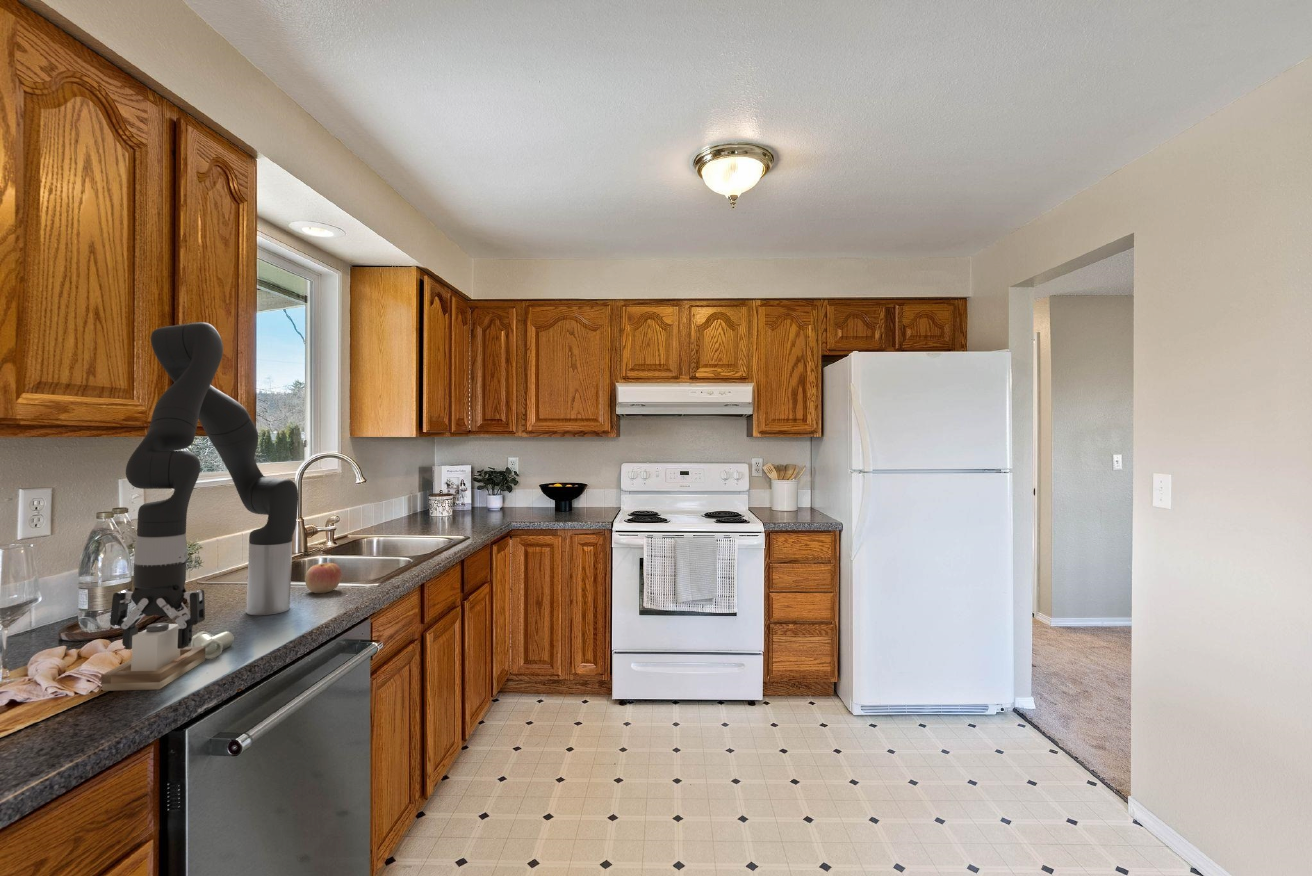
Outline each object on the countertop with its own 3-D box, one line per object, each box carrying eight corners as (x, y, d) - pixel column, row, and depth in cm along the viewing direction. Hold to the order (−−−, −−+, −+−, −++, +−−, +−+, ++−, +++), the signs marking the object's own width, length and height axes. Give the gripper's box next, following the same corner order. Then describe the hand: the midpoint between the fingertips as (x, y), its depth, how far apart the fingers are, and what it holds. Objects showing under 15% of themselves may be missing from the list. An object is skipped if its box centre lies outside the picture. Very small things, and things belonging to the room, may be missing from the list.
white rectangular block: (130, 675, 109) (132, 631, 109) (156, 661, 116) (157, 619, 116) (155, 674, 110) (157, 631, 110) (179, 660, 116) (181, 619, 116)
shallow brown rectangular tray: (153, 661, 119) (154, 646, 119) (205, 660, 120) (205, 645, 120) (100, 690, 105) (101, 673, 105) (159, 689, 106) (160, 672, 106)
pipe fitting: (228, 646, 130) (189, 651, 125) (231, 627, 131) (192, 631, 125) (240, 655, 125) (200, 661, 120) (243, 636, 125) (203, 641, 120)
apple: (346, 590, 176) (348, 562, 176) (318, 597, 168) (319, 568, 168) (325, 586, 180) (326, 559, 180) (297, 593, 172) (298, 564, 172)
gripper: (102, 563, 108) (98, 655, 108) (191, 563, 110) (188, 654, 110) (131, 555, 115) (127, 641, 115) (214, 555, 118) (211, 640, 118)
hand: (157, 647), depth 113 cm, fingers open, 8 cm apart
